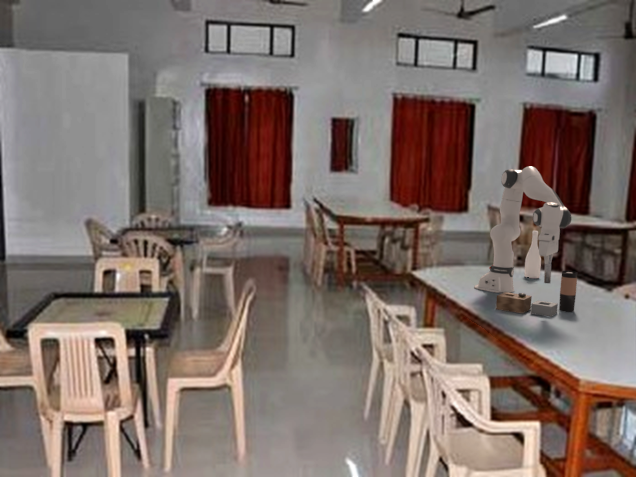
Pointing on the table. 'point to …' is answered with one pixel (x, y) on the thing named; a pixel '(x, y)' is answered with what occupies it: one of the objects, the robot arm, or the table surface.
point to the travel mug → (568, 291)
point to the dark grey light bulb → (522, 295)
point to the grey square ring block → (544, 308)
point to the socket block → (513, 302)
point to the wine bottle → (533, 259)
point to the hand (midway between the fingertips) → (547, 263)
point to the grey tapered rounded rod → (548, 271)
